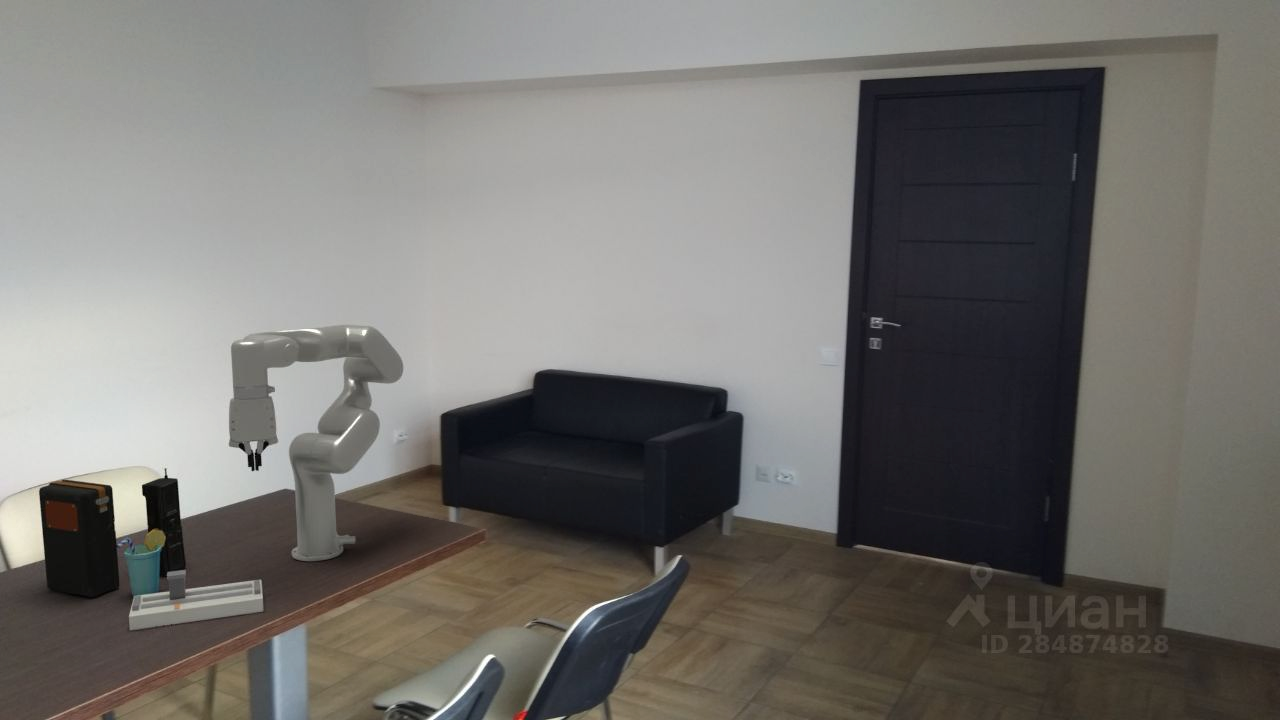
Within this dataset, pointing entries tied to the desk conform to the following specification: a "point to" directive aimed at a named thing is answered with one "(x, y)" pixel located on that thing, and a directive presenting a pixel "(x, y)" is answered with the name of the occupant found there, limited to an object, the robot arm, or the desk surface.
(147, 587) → the cup
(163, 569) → the portable radio
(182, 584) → the fader tab
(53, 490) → the black speaker
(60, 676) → the desk surface
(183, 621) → the slider track base
